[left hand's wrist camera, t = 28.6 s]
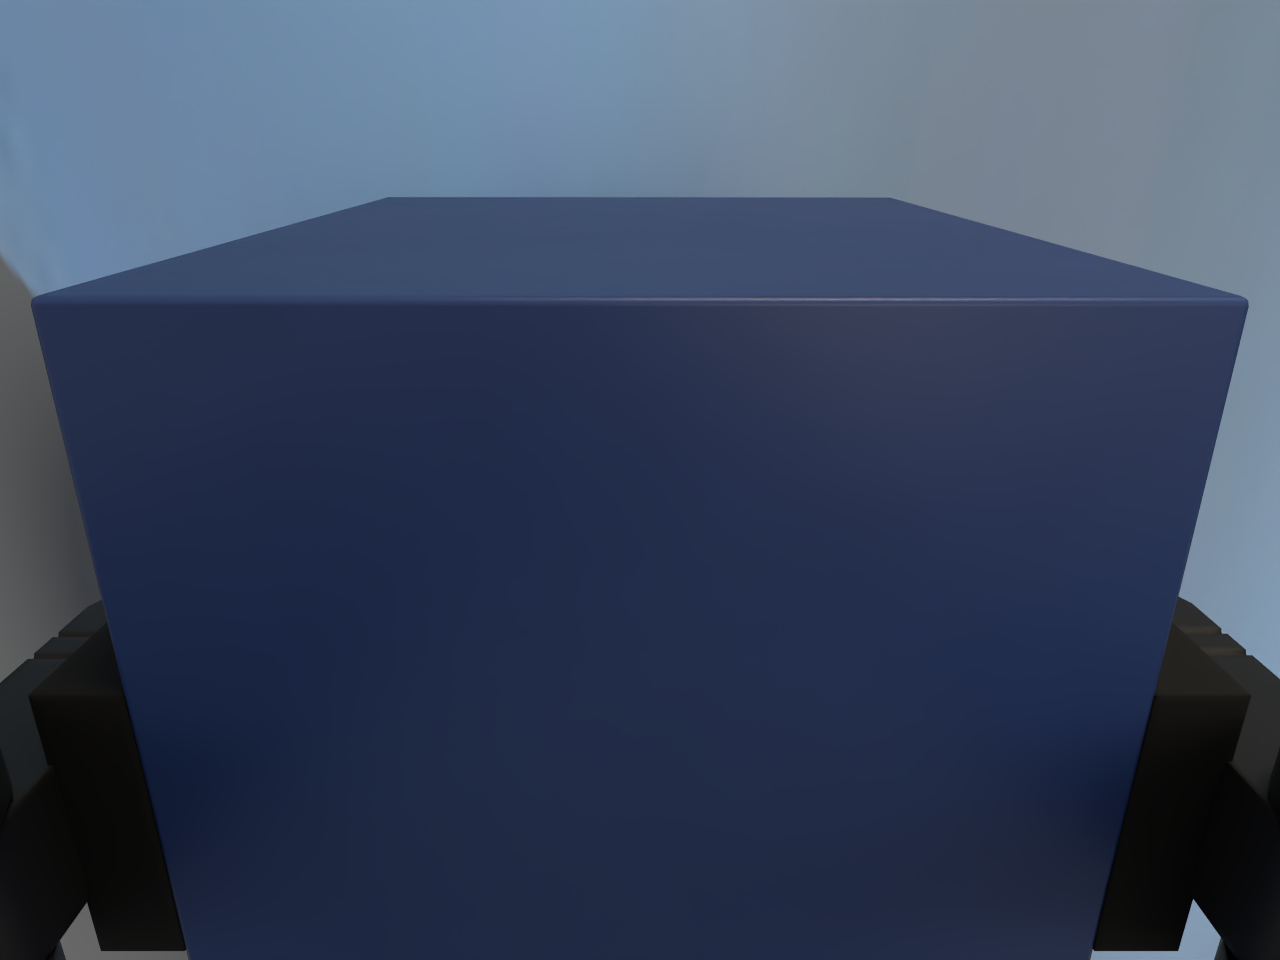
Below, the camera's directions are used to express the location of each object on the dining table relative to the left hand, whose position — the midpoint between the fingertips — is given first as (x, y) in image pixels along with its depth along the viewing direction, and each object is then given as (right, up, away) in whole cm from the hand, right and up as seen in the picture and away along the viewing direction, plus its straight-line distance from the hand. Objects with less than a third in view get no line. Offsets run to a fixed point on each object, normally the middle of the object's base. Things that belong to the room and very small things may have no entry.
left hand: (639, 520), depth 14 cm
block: (0, +1, +3) cm, 3 cm away
